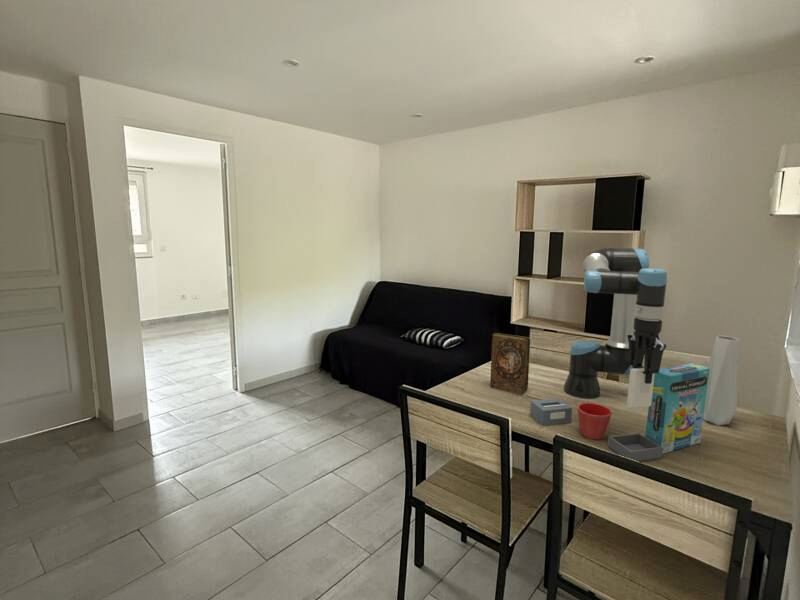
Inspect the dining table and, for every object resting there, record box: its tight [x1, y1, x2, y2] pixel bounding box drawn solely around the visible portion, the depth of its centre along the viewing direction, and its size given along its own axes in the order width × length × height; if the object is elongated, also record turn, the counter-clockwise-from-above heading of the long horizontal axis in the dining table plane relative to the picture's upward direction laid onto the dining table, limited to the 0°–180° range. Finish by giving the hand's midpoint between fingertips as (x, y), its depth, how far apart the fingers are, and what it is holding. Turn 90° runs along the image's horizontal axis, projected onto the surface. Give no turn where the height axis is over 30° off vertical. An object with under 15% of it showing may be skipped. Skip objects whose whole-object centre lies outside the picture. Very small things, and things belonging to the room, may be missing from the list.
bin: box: [607, 432, 664, 463], centre depth 139 cm, size 12×10×4 cm
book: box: [489, 332, 531, 395], centre depth 191 cm, size 16×6×25 cm, turn 58°
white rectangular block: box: [626, 368, 655, 408], centre depth 135 cm, size 7×2×12 cm, turn 102°
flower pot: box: [577, 402, 613, 440], centre depth 151 cm, size 11×11×10 cm
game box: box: [644, 362, 710, 455], centre depth 142 cm, size 20×6×27 cm, turn 114°
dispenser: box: [529, 398, 573, 426], centre depth 163 cm, size 12×9×6 cm
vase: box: [703, 335, 740, 426], centre depth 160 cm, size 12×12×33 cm
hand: (640, 390), depth 135 cm, fingers closed on white rectangular block, 2 cm apart
